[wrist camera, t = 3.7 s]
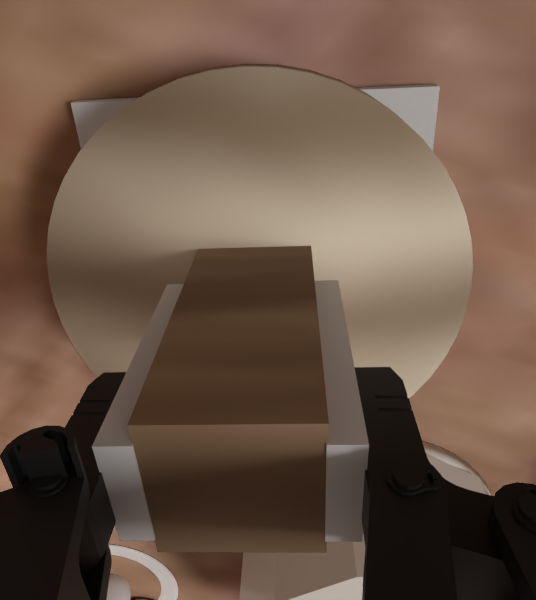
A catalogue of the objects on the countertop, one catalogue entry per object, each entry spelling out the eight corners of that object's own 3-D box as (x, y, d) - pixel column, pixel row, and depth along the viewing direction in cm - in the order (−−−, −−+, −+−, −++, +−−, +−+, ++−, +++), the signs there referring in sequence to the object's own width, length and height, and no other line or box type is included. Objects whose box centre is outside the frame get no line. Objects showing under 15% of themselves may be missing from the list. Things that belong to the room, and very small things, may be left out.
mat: (77, 100, 17) (70, 102, 17) (435, 84, 16) (440, 86, 16) (137, 380, 23) (134, 388, 22) (403, 376, 22) (406, 385, 22)
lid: (32, 70, 16) (-324, 137, 7) (477, 49, 15) (772, 91, 6) (116, 406, 23) (-4, 672, 13) (427, 402, 22) (529, 682, 13)
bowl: (241, 436, 24) (225, 576, 18) (515, 434, 24) (594, 578, 17) (256, 594, 31) (248, 736, 24) (473, 596, 30) (520, 743, 24)
